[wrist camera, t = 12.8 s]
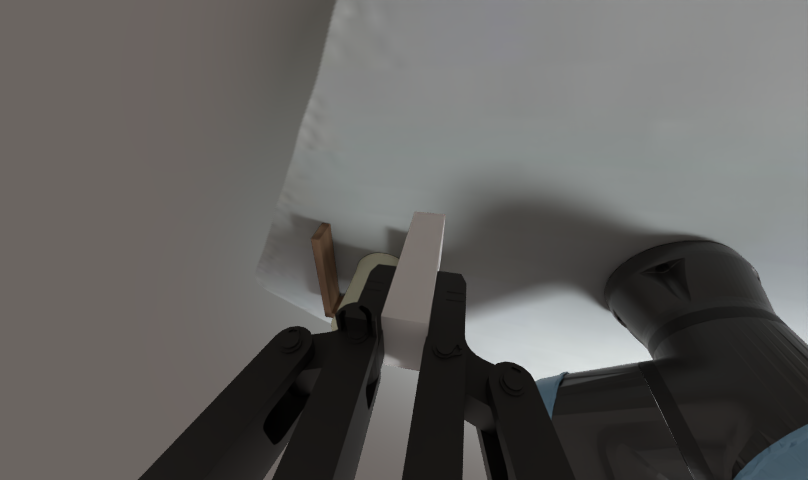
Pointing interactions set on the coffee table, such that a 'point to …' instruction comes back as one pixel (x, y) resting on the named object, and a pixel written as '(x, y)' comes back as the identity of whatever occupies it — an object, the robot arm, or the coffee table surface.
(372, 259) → the can
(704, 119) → the coffee table surface
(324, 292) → the bay
